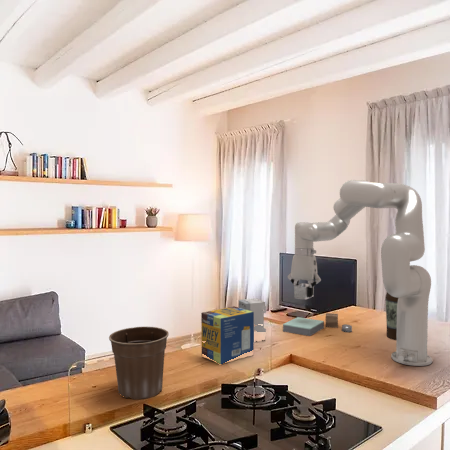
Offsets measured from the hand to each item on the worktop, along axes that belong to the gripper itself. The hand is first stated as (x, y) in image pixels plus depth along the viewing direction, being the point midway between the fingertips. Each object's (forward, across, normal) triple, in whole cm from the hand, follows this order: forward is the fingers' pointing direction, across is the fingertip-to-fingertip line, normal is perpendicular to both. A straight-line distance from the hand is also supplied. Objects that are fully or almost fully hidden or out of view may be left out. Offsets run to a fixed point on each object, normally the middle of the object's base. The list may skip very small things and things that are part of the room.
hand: (303, 295), depth 189 cm
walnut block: (+14, -8, -12) cm, 20 cm away
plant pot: (+15, +12, +83) cm, 85 cm away
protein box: (+15, +8, +45) cm, 48 cm away
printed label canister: (+14, -36, -11) cm, 40 cm away
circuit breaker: (+15, +12, +26) cm, 32 cm away
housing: (+1, 0, 0) cm, 1 cm away
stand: (+14, 0, 0) cm, 14 cm away
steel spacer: (+14, -16, -8) cm, 23 cm away
